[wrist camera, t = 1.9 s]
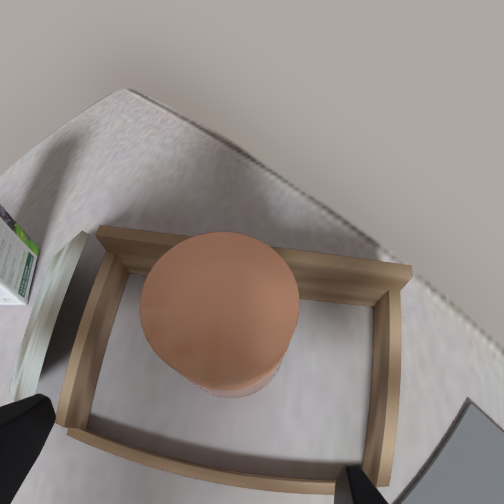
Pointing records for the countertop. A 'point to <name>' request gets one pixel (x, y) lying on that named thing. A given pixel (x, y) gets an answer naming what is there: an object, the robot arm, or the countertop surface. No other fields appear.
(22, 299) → the syrup box
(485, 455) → the slate tile
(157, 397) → the countertop surface
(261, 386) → the peach domed cylinder
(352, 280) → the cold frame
